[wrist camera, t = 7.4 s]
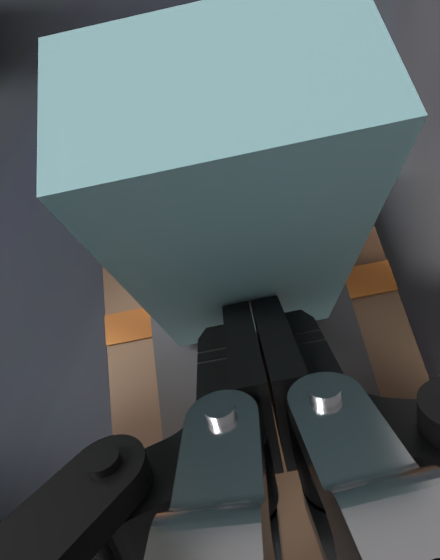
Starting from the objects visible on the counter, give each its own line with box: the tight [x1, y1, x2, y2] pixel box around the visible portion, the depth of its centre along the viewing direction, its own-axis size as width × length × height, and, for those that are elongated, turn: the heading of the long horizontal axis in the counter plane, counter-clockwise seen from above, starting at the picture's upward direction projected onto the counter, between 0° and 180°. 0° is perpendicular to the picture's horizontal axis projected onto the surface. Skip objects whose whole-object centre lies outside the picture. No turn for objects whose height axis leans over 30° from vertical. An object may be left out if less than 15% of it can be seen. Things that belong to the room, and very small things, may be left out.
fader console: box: [103, 226, 430, 560], centre depth 14 cm, size 22×11×3 cm, turn 9°
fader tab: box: [37, 0, 428, 346], centre depth 10 cm, size 4×5×10 cm
